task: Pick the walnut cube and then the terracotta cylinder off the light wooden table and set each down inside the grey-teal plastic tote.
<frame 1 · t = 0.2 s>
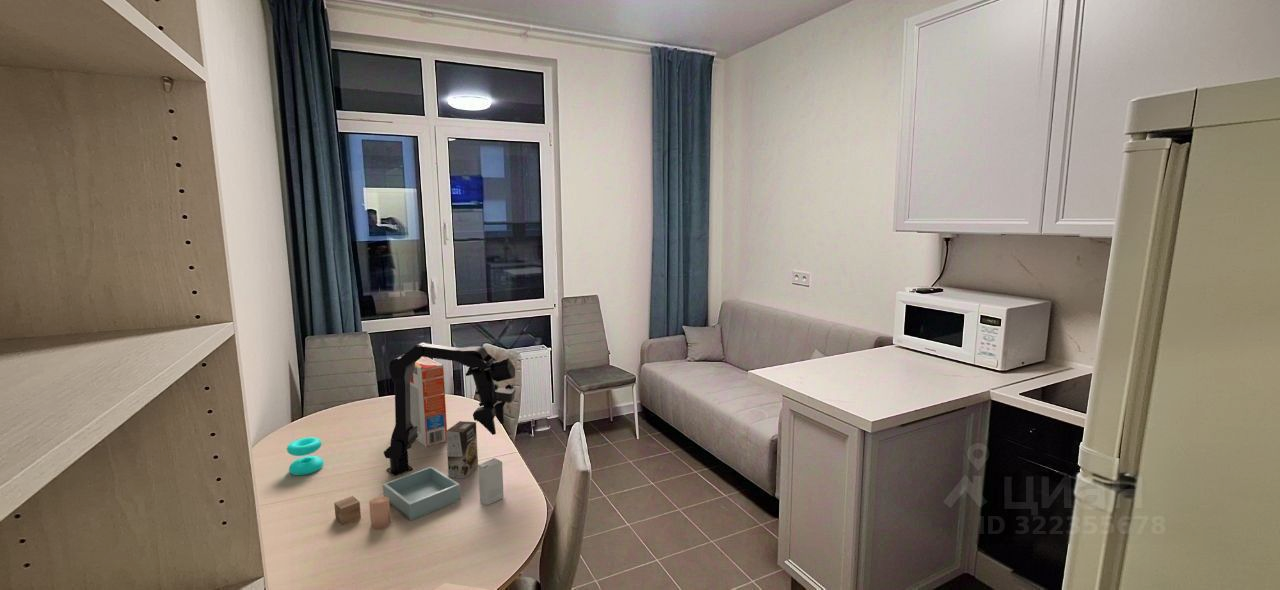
hand: (498, 428, 180), 15 cm above the table, tool pointing down, fingers open, 9 cm apart
pasta box: (425, 435, 214), on the table
terracotta cylinder: (381, 524, 153), on the table
walnut cube: (348, 518, 156), on the table
tote: (422, 499, 166), on the table
coffee box: (463, 472, 184), on the table
donuts: (306, 470, 185), on the table
skincare box: (491, 500, 165), on the table
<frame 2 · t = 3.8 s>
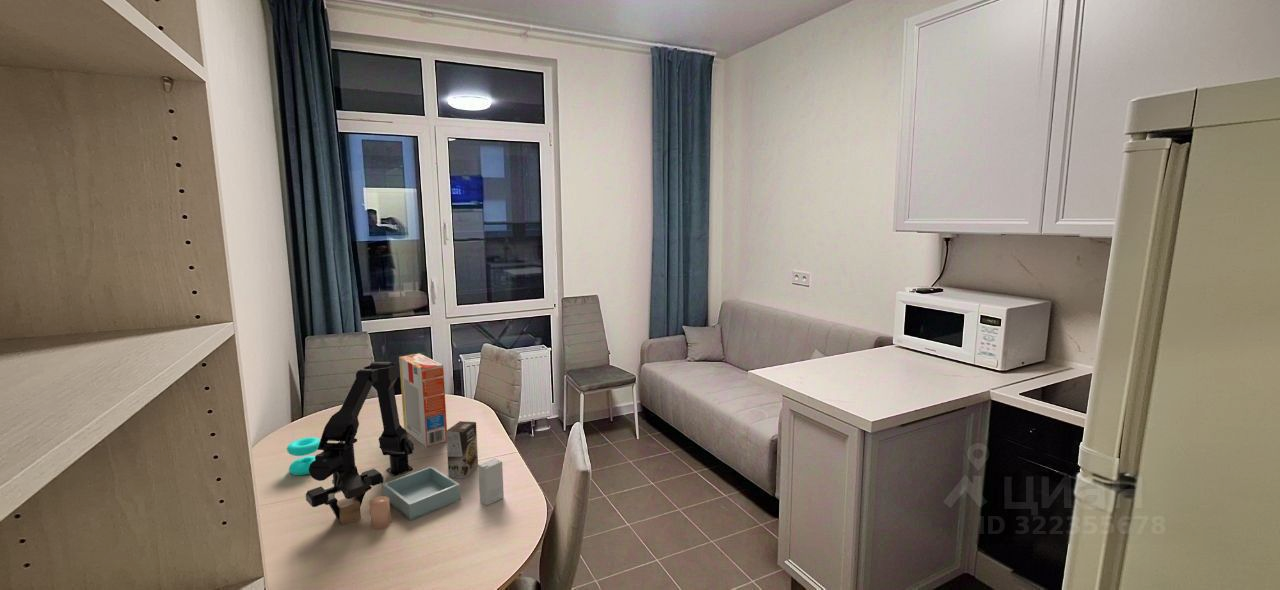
hand: (348, 514, 156), 1 cm above the table, tool pointing down, fingers closed on walnut cube, 5 cm apart
walnut cube: (348, 518, 156), on the table, touching gripper
everything else where it was.
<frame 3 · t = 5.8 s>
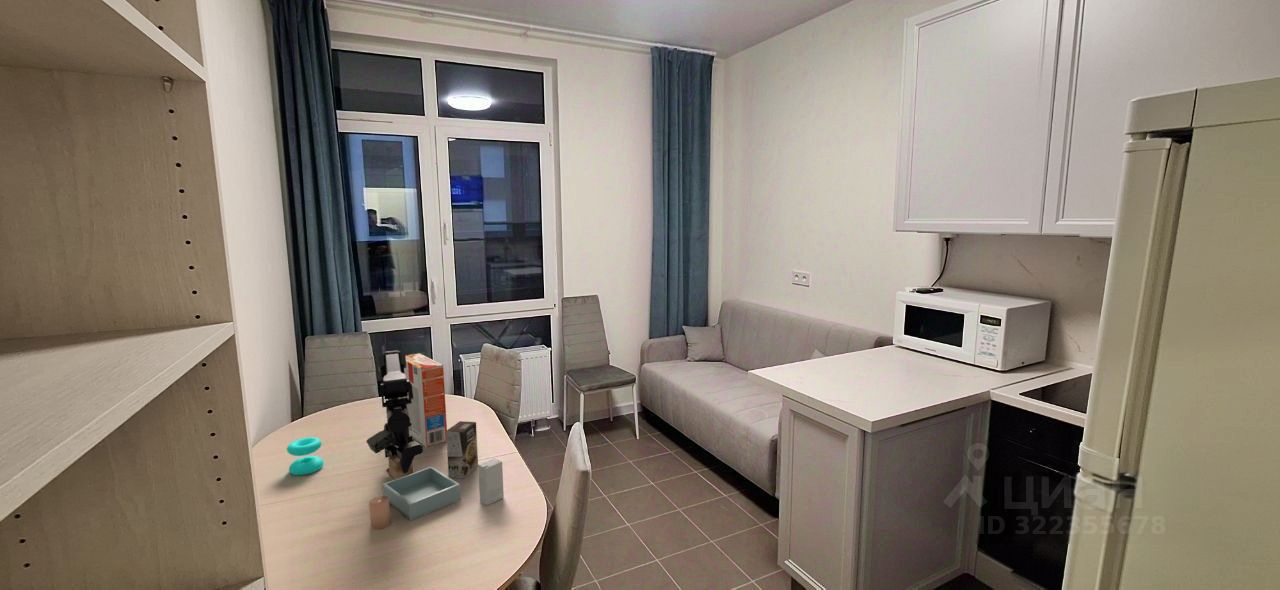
hand: (401, 469, 161), 11 cm above the table, tool pointing down, fingers closed on walnut cube, 5 cm apart
walnut cube: (401, 473, 162), point 10 cm above the table, touching gripper
everything else where it was.
when the fingers open (4 cm above the table, at t = 7.6 s): walnut cube drops 2 cm, resting on tote.
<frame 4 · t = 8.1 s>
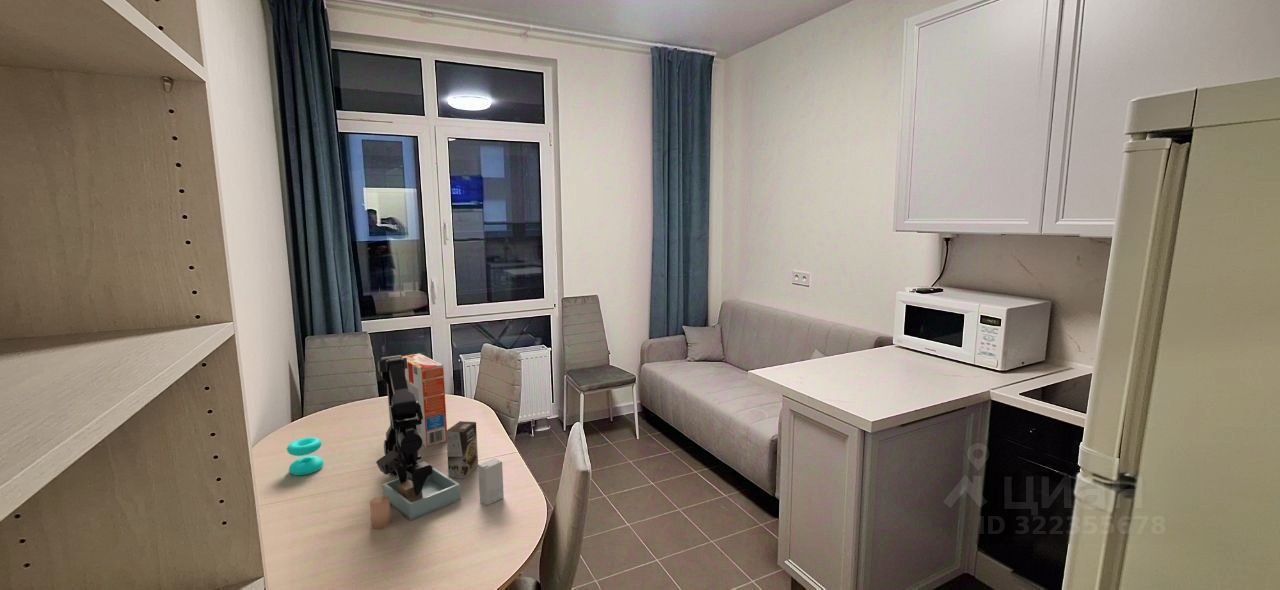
hand: (410, 489, 164), 4 cm above the table, tool pointing down, fingers open, 9 cm apart
walnut cube: (410, 499, 164), point 1 cm above the table, touching tote
everything else where it was.
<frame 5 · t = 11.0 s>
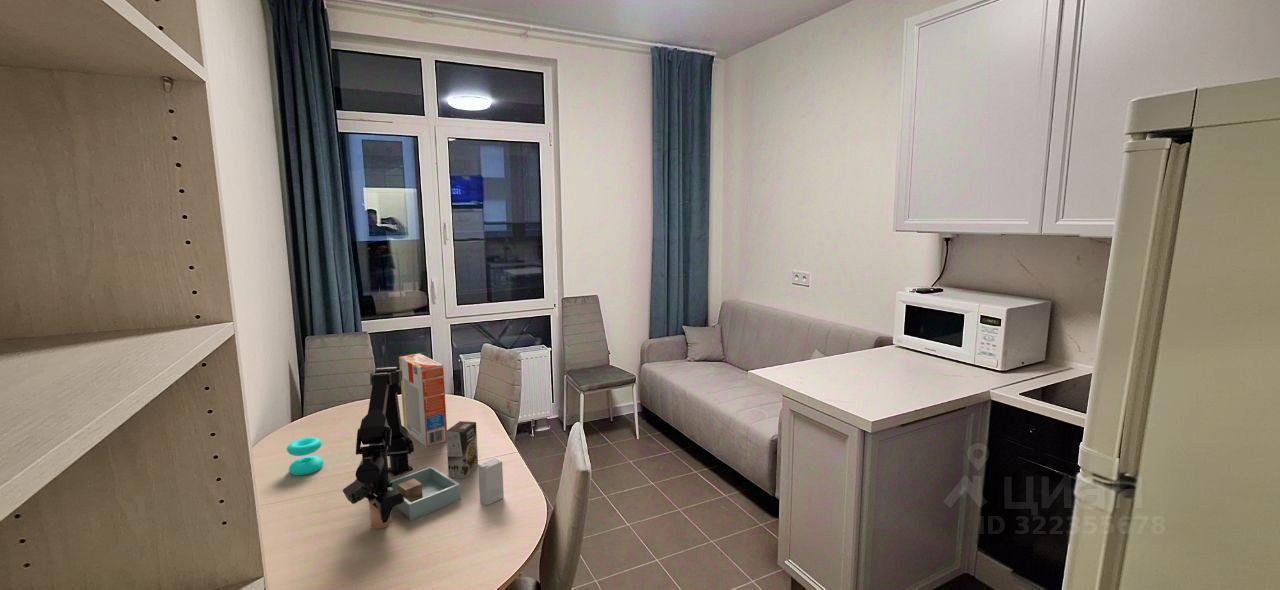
hand: (380, 518, 152), 2 cm above the table, tool pointing down, fingers closed on terracotta cylinder, 5 cm apart
terracotta cylinder: (381, 523, 153), on the table, touching gripper
everything else where it was.
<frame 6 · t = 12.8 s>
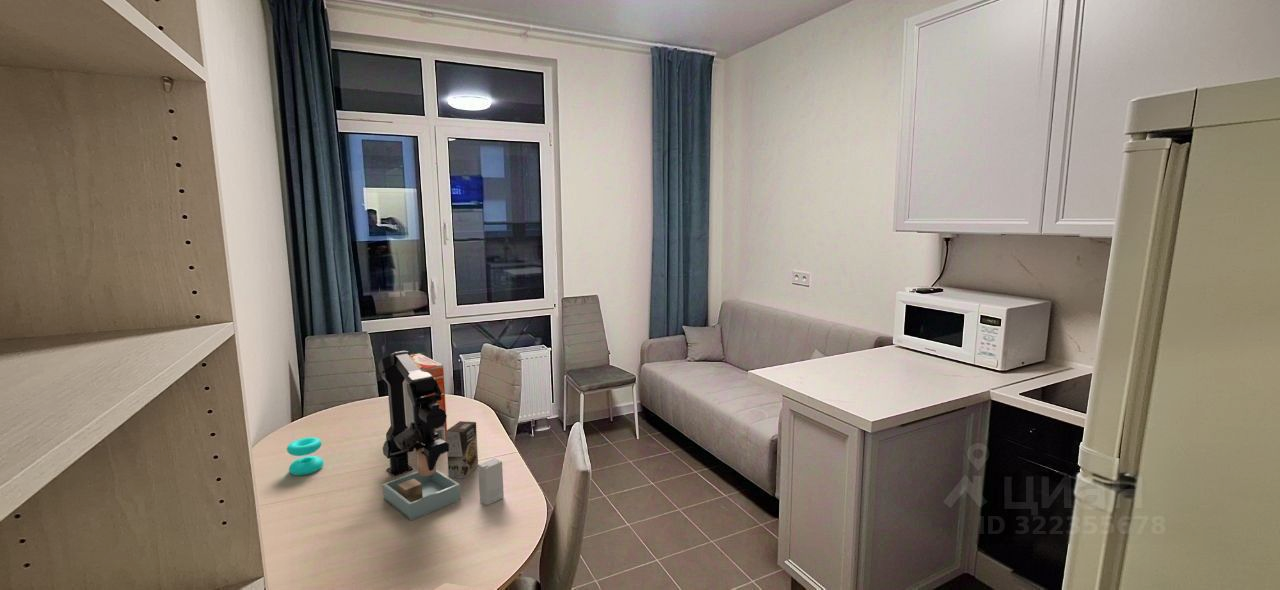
hand: (426, 467, 163), 11 cm above the table, tool pointing down, fingers closed on terracotta cylinder, 5 cm apart
terracotta cylinder: (427, 472, 164), point 9 cm above the table, touching gripper
everything else where it was.
when the fingers open (4 cm above the table, at t = 14.6 s): terracotta cylinder drops 2 cm, resting on tote.
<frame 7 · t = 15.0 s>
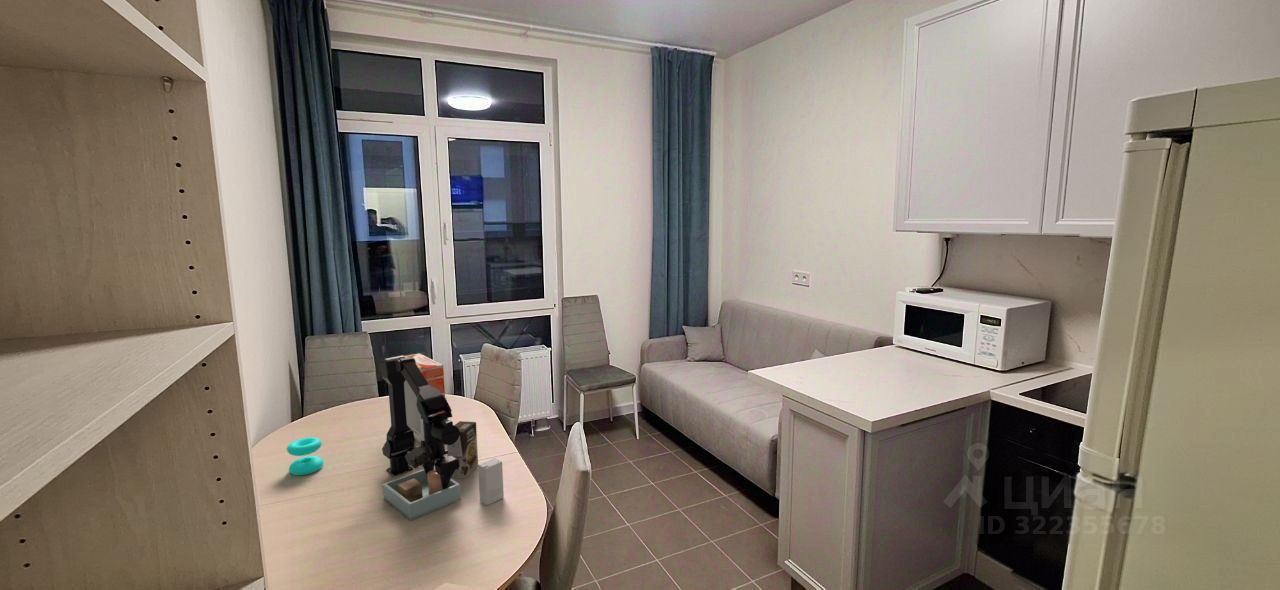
hand: (437, 483, 167), 4 cm above the table, tool pointing down, fingers open, 9 cm apart
terracotta cylinder: (437, 494, 167), point 1 cm above the table, touching tote
everything else where it was.
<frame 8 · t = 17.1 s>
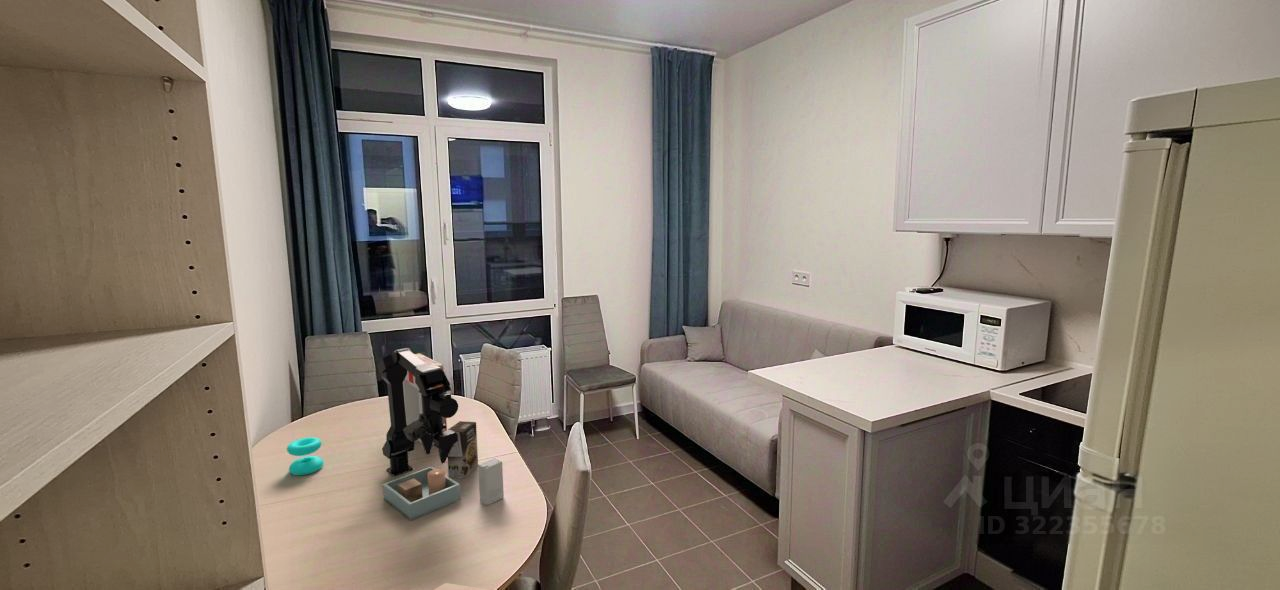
hand: (435, 458, 165), 12 cm above the table, tool pointing down, fingers open, 9 cm apart
nothing on the table moved.
at the end: walnut cube inside the target area on the tote (3.2 cm from its centre), point 0.8 cm above the tote's base; terracotta cylinder inside the target area on the tote (4.4 cm from its centre), point 0.8 cm above the tote's base; the gripper is holding nothing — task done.
